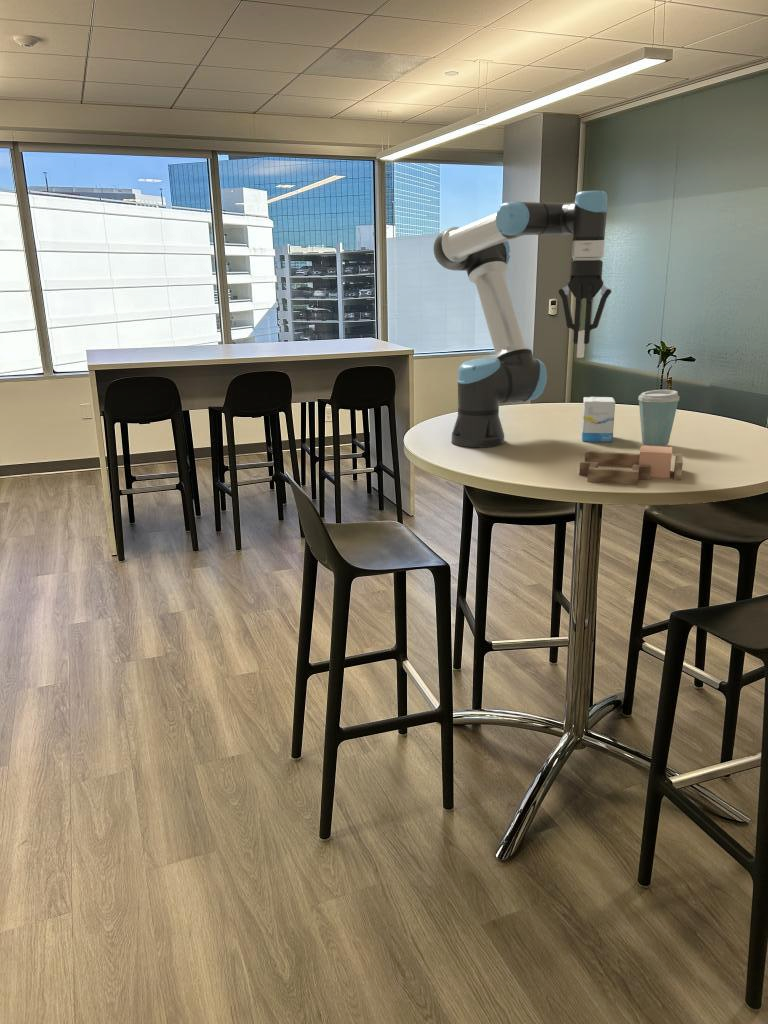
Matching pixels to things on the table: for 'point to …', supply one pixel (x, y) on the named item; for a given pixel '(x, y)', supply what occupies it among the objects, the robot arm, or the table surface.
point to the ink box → (598, 419)
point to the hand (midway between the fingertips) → (580, 356)
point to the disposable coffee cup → (657, 416)
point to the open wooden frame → (618, 474)
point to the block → (656, 460)
